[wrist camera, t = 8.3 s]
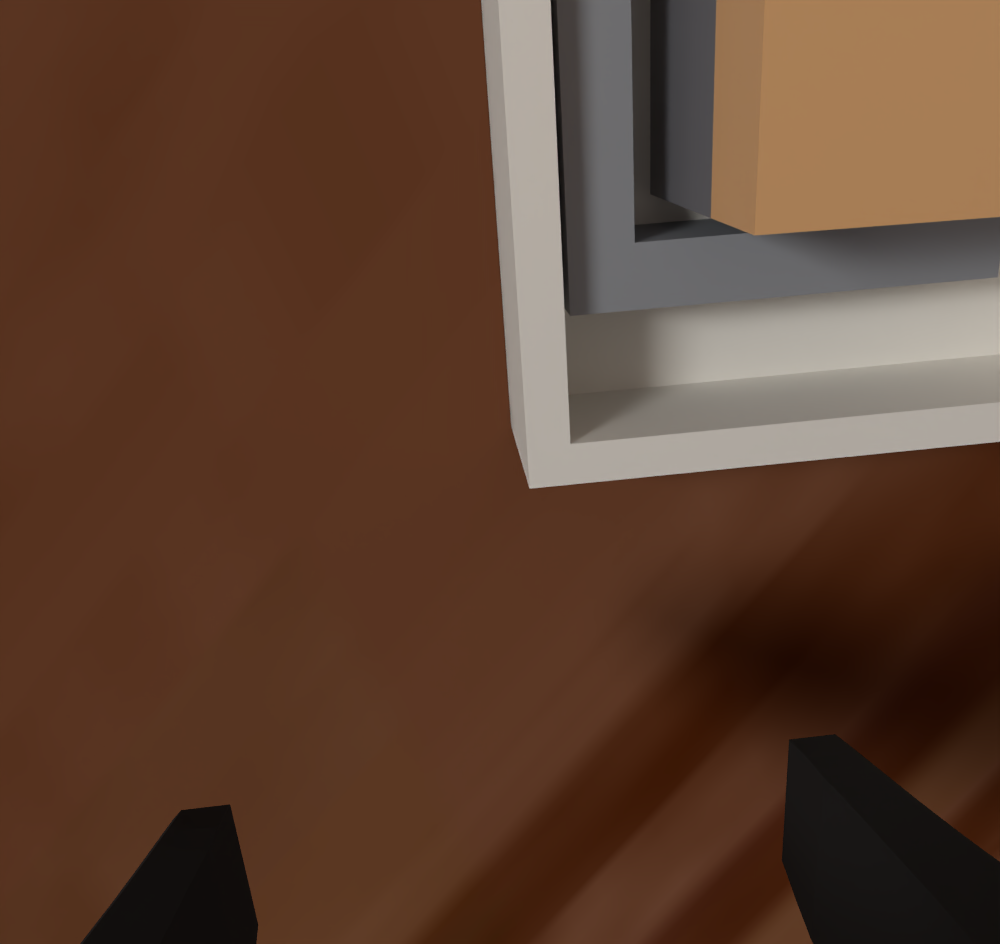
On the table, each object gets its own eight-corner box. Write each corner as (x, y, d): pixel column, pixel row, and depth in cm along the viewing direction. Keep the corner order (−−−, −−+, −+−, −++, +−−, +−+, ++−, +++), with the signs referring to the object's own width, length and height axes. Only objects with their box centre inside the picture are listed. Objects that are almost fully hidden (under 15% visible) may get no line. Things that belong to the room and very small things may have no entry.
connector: (865, -49, 17) (1089, -124, 11) (847, 179, 18) (1036, 214, 13) (650, -37, 16) (769, -106, 11) (650, 194, 18) (754, 235, 12)
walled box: (1243, -279, 16) (1446, -373, 13) (1119, 367, 21) (1247, 416, 18) (464, -234, 16) (477, -321, 12) (511, 426, 20) (529, 488, 17)
